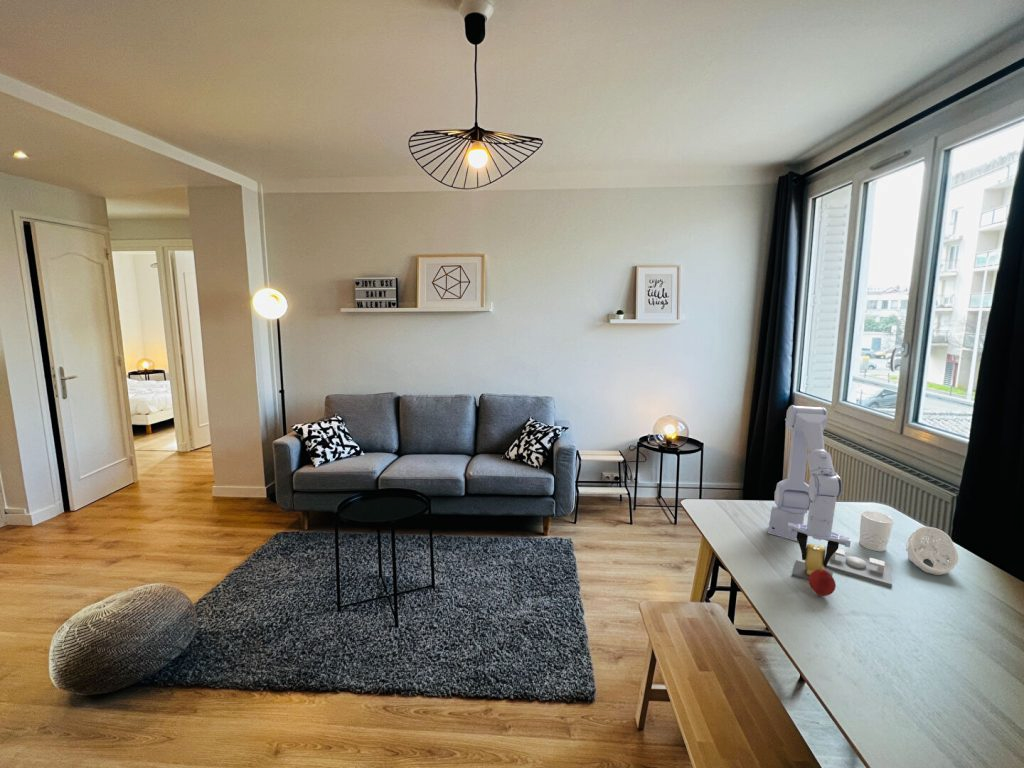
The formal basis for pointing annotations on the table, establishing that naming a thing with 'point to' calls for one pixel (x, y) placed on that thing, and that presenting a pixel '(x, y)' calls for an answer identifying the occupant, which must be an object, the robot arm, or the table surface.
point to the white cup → (875, 530)
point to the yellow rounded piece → (814, 557)
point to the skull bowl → (932, 550)
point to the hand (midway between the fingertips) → (814, 561)
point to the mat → (803, 571)
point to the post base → (860, 567)
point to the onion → (822, 582)
